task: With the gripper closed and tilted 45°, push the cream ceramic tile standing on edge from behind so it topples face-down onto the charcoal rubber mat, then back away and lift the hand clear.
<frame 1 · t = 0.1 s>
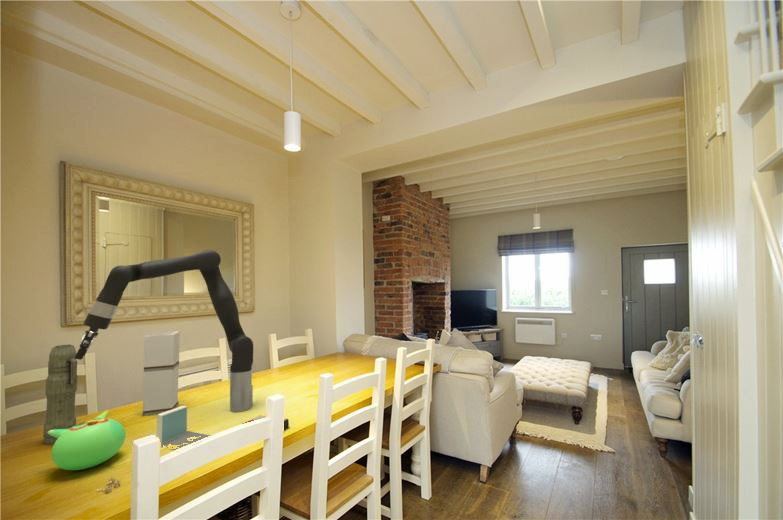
hand: (79, 357, 130), 31 cm above the table, tool tilted 20°, fingers open, 8 cm apart
green eared figurine: (89, 465, 113), on the table
dice set: (110, 490, 99), on the table
grooved grey pillar: (161, 410, 162), on the table
calculator: (264, 431, 137), on the table
tile: (169, 437, 131), resting on tile mat
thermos: (59, 440, 132), on the table
tile mat: (181, 441, 129), on the table
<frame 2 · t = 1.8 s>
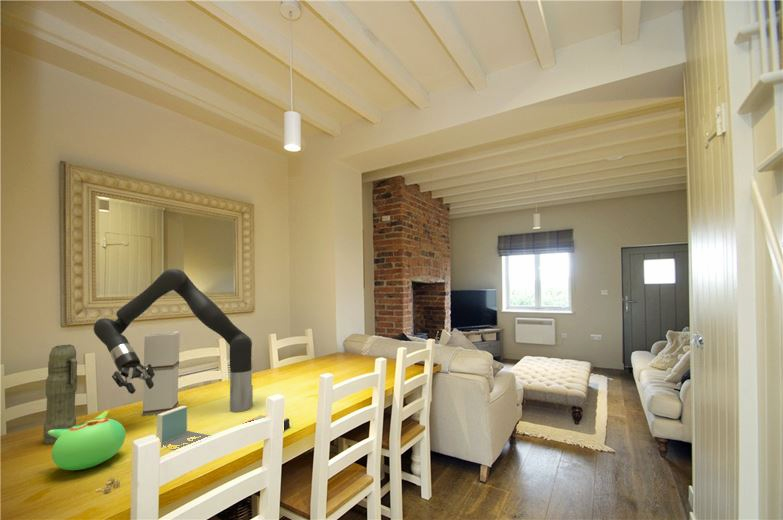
hand: (142, 389, 138), 16 cm above the table, tool tilted 45°, fingers open, 6 cm apart
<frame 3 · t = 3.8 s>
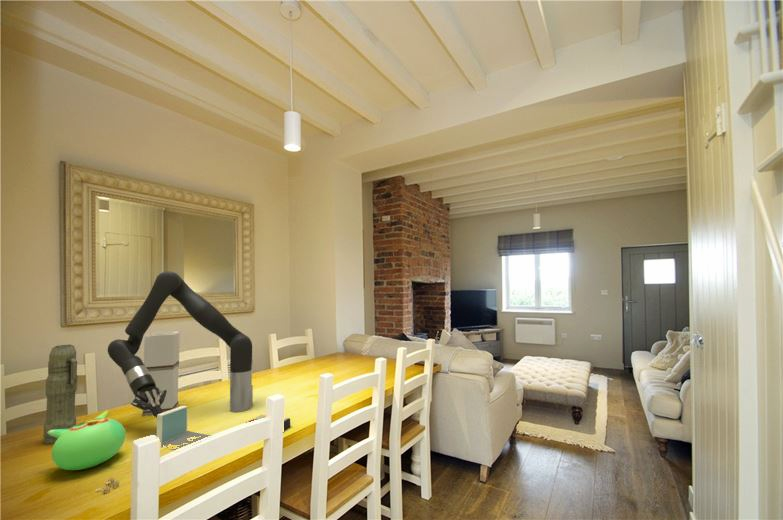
hand: (159, 415, 134), 8 cm above the table, tool tilted 45°, fingers closed
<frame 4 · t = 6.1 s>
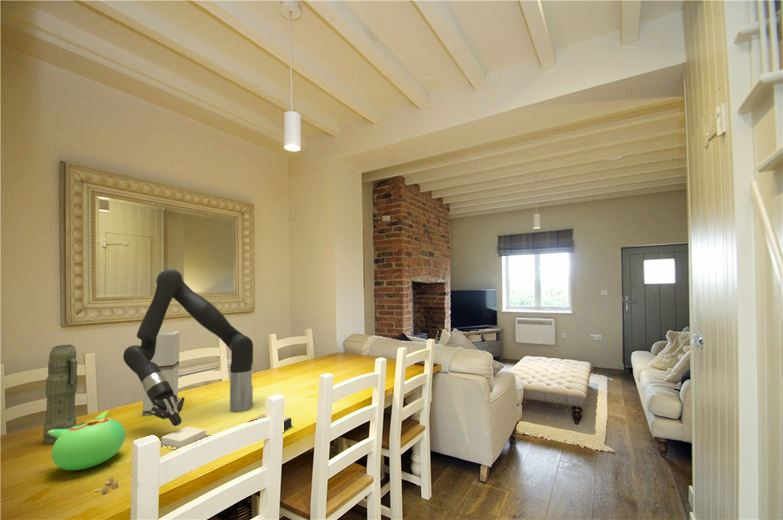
hand: (178, 424, 129), 6 cm above the table, tool tilted 45°, fingers closed
tile: (174, 431, 130), point 3 cm above the table, tilted 90°, touching tile mat
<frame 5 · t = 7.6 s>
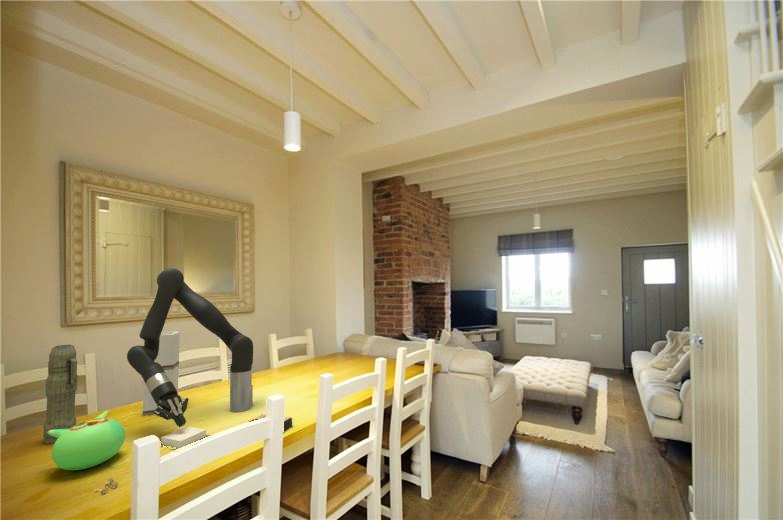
hand: (182, 425, 129), 6 cm above the table, tool tilted 45°, fingers closed
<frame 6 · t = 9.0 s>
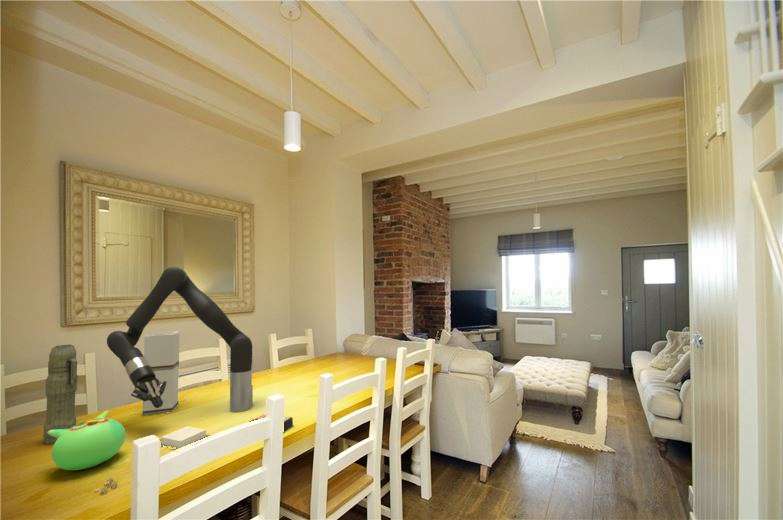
hand: (159, 406, 134), 11 cm above the table, tool tilted 45°, fingers closed
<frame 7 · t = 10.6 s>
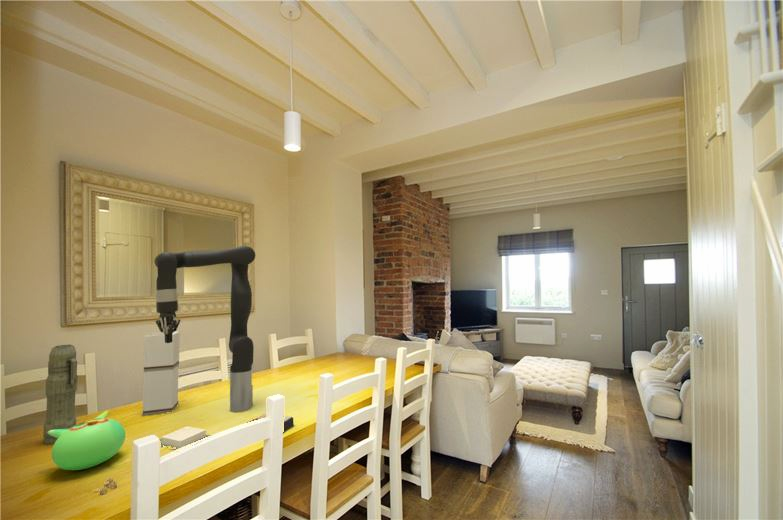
hand: (168, 342, 144), 34 cm above the table, tool pointing down, fingers closed
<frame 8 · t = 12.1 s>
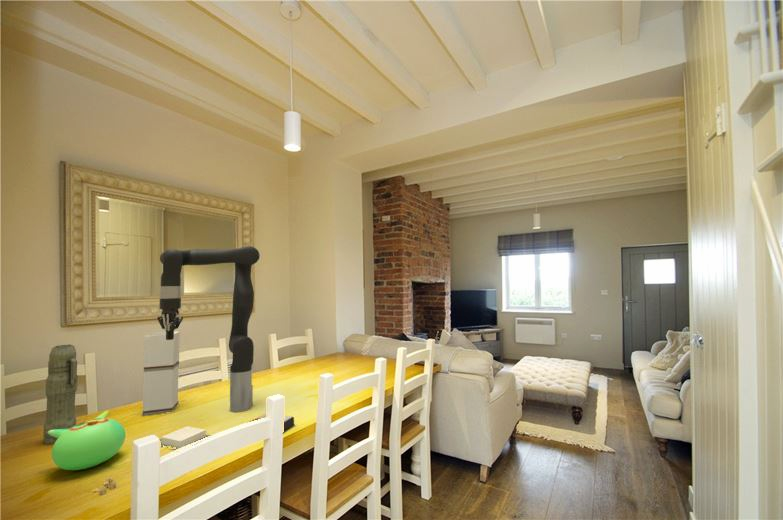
hand: (169, 339, 144), 35 cm above the table, tool pointing down, fingers closed
at the end: tile tilted 90°; tile inside the target area on the tile mat (0.3 cm from its centre), point 3.0 cm above the tile mat's base; tile touching tile mat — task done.
